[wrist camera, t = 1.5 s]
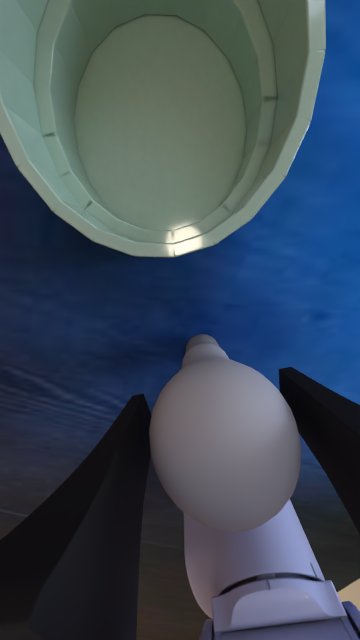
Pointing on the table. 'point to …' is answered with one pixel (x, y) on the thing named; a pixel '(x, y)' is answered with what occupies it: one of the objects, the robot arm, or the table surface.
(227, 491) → the lightbulb
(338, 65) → the table surface
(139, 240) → the bowl
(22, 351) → the table surface
